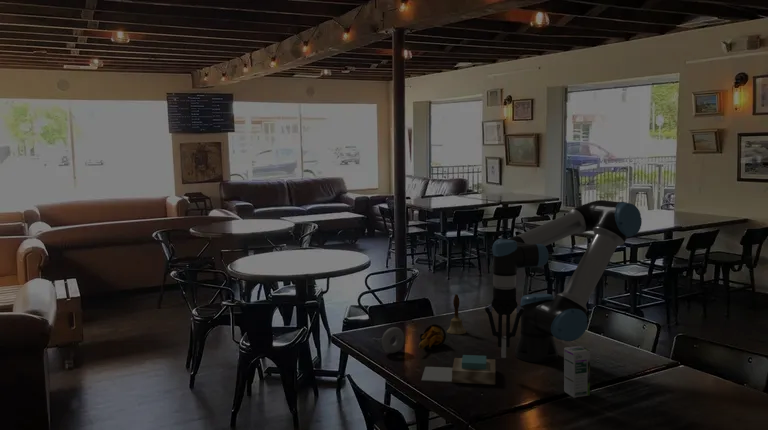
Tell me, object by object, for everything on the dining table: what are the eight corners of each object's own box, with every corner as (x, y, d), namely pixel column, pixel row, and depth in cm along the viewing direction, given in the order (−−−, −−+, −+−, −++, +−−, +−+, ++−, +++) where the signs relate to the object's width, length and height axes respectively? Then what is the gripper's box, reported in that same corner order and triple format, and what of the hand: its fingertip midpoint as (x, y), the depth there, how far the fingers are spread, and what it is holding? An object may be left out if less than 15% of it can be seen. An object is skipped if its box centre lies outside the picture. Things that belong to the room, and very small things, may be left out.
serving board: (495, 370, 219) (495, 359, 218) (495, 384, 206) (495, 372, 205) (454, 368, 221) (454, 357, 221) (452, 382, 208) (452, 370, 208)
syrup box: (573, 398, 194) (574, 352, 192) (563, 391, 199) (563, 346, 198) (590, 396, 195) (590, 350, 194) (579, 389, 201) (579, 344, 199)
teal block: (486, 361, 216) (486, 355, 216) (486, 369, 208) (486, 363, 208) (462, 360, 218) (462, 354, 217) (461, 368, 210) (461, 362, 210)
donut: (385, 356, 235) (384, 330, 234) (379, 354, 238) (379, 328, 237) (406, 351, 241) (406, 326, 240) (401, 349, 244) (400, 324, 243)
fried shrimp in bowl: (451, 331, 251) (444, 329, 234) (439, 356, 250) (431, 356, 233) (431, 320, 254) (422, 317, 237) (419, 346, 253) (409, 344, 236)
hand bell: (443, 330, 269) (443, 293, 267) (461, 328, 271) (461, 291, 270) (451, 335, 261) (451, 297, 259) (469, 333, 263) (469, 296, 262)
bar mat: (454, 368, 221) (454, 367, 221) (451, 382, 208) (451, 381, 208) (425, 367, 223) (425, 366, 223) (421, 380, 210) (421, 379, 210)
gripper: (524, 285, 211) (523, 353, 213) (484, 284, 213) (484, 352, 216) (525, 289, 204) (524, 361, 206) (484, 288, 206) (483, 359, 208)
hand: (503, 356), depth 211 cm, fingers closed
